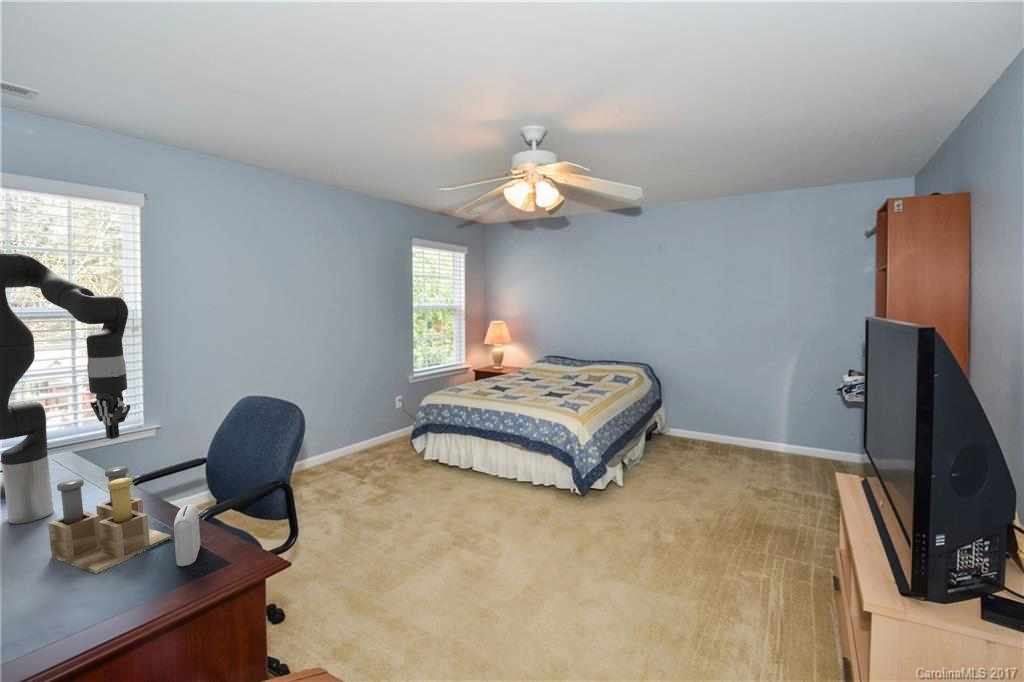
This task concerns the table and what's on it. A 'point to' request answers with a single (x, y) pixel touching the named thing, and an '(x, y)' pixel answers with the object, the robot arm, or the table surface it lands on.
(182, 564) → the photo printer
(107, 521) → the board
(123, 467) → the grey plug
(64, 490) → the grey plug
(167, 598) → the table surface
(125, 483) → the ochre plug
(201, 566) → the table surface
